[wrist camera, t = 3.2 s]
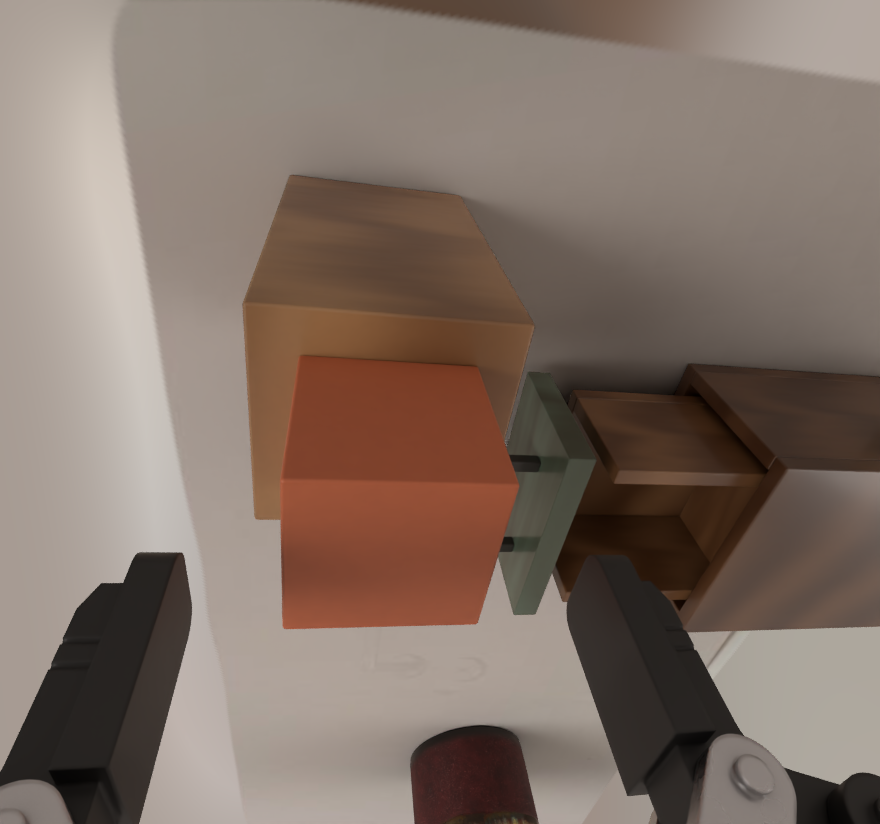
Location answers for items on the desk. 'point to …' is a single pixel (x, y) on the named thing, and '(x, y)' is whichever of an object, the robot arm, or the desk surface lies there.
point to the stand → (372, 302)
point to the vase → (471, 779)
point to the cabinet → (795, 503)
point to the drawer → (619, 488)
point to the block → (390, 495)
